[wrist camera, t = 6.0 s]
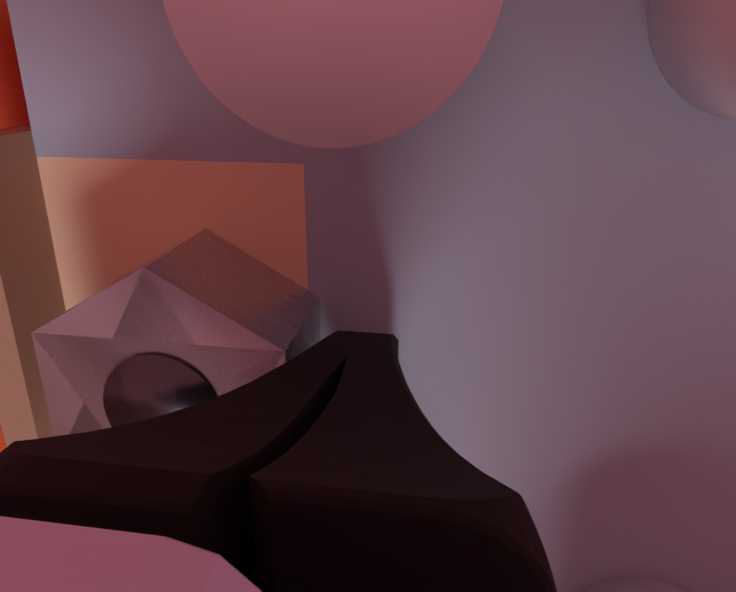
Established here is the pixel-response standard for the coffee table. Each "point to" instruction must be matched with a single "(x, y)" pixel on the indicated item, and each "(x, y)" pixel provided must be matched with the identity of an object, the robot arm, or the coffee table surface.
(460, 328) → the spacer board
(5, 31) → the coffee table surface
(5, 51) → the coffee table surface
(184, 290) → the hexagonal block with ball
